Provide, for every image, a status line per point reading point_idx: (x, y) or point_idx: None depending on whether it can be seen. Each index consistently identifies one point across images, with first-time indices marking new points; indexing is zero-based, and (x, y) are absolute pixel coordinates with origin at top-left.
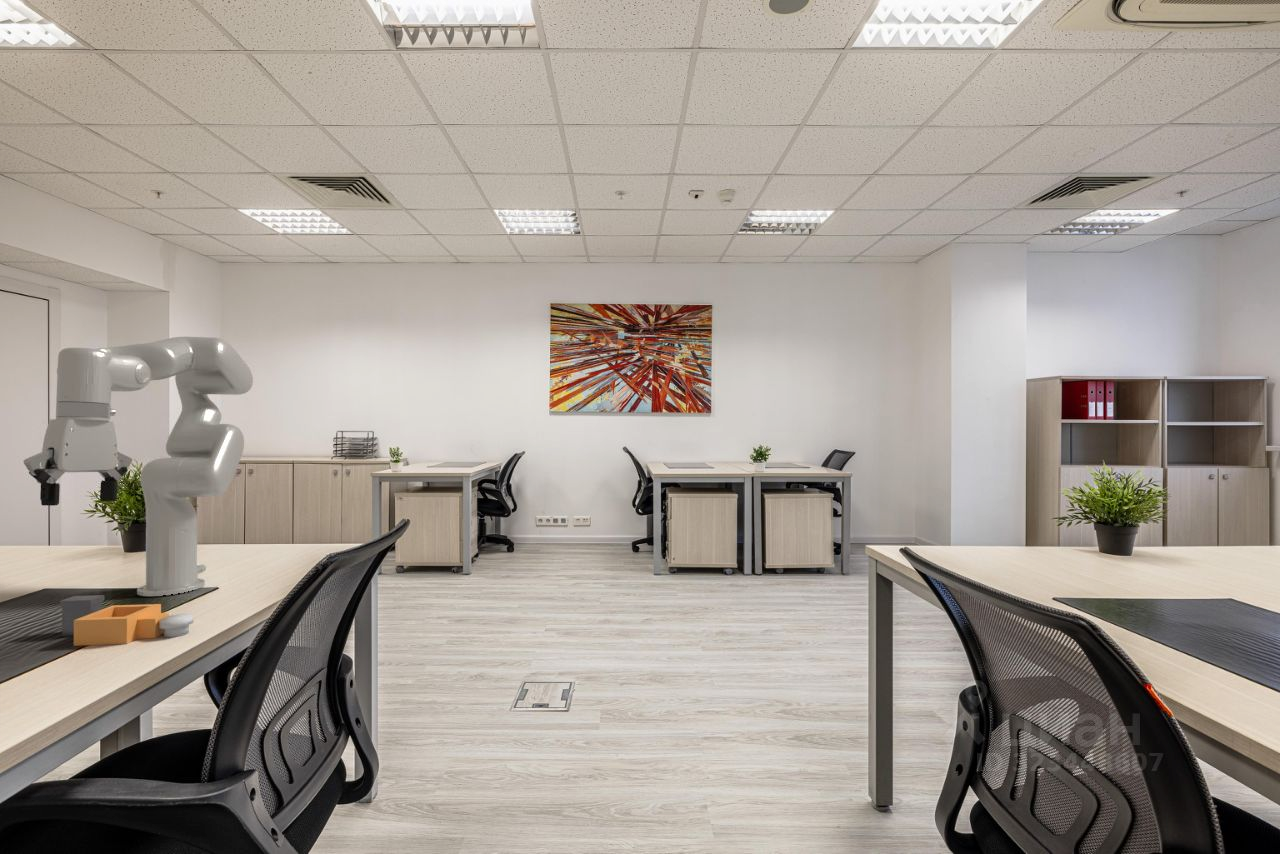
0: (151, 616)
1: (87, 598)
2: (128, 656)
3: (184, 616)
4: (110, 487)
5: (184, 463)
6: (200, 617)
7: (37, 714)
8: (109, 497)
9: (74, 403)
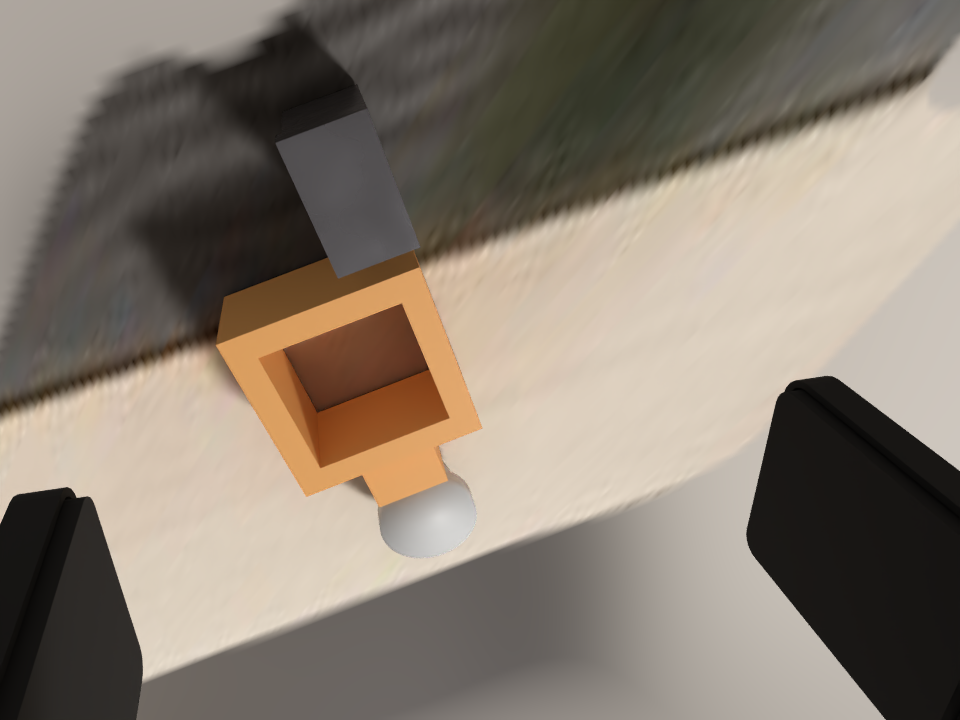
0: (396, 472)
1: (354, 231)
2: (238, 533)
3: (448, 528)
4: (864, 649)
5: None
6: (589, 383)
7: None
8: (773, 537)
9: None
